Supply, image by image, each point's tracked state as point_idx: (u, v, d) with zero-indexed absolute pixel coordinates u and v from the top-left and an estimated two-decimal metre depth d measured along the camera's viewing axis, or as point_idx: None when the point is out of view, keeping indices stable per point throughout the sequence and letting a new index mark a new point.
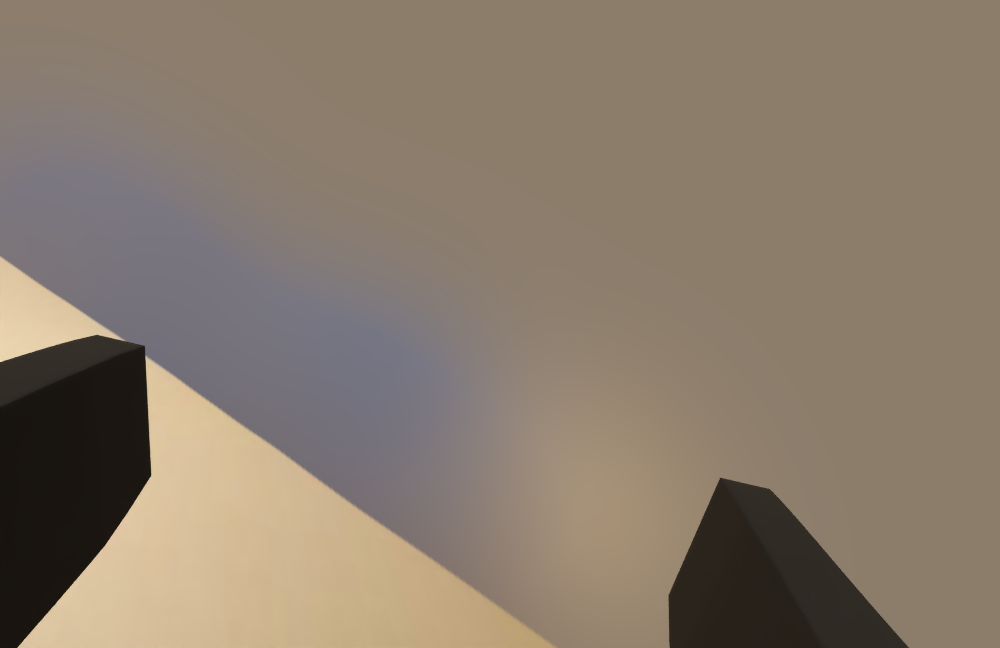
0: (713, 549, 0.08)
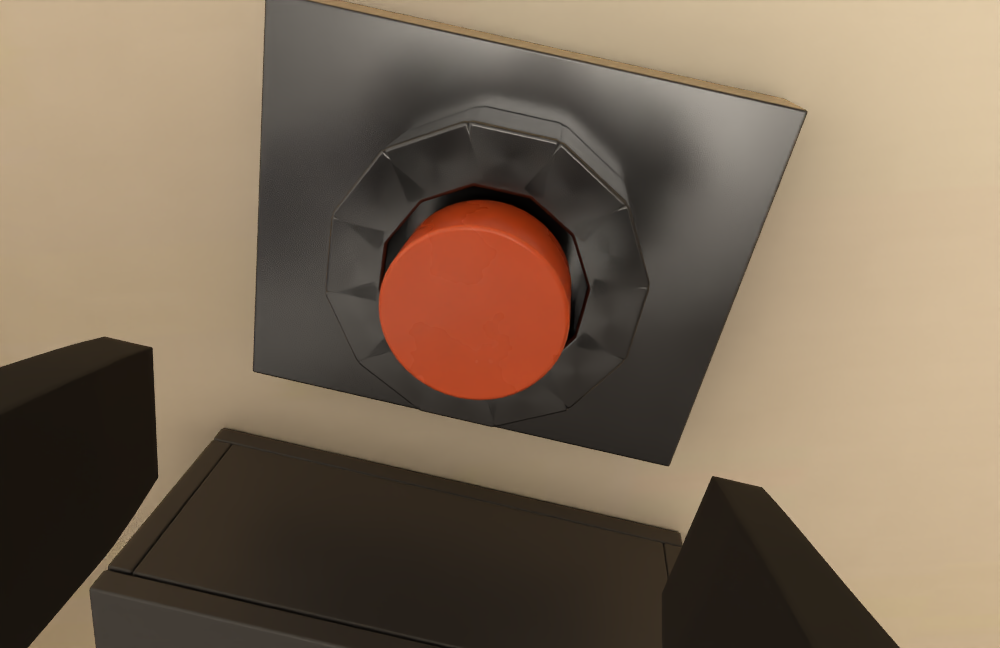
0: (705, 547, 0.08)
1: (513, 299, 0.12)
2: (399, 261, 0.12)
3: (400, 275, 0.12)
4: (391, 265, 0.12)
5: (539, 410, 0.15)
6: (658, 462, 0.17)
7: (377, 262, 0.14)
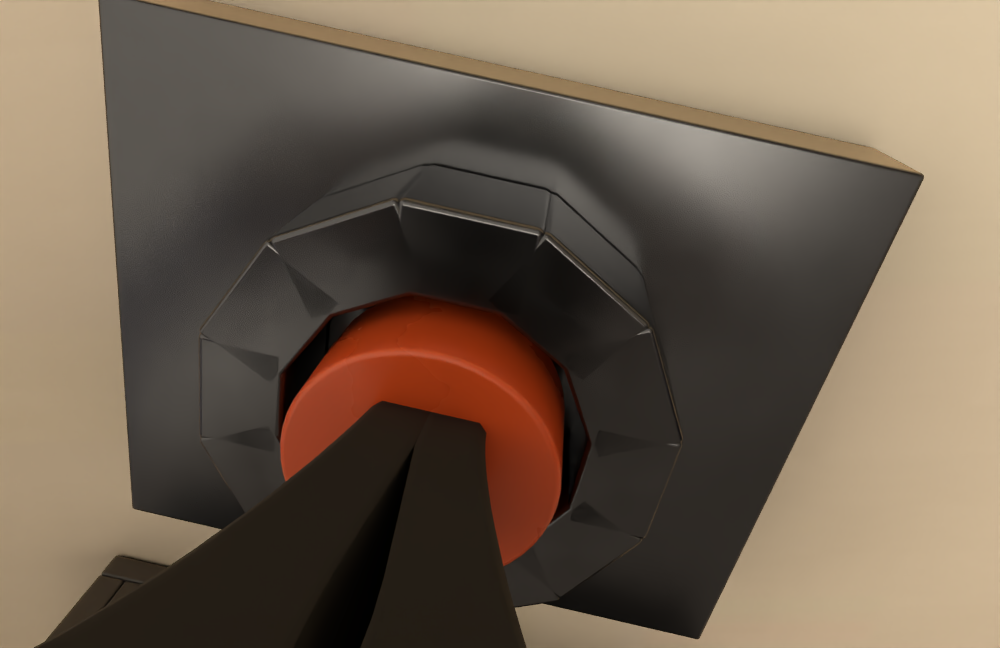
0: None
1: None
2: (305, 397, 0.08)
3: (308, 416, 0.08)
4: (294, 402, 0.08)
5: (518, 599, 0.10)
6: (684, 634, 0.13)
7: (272, 399, 0.09)
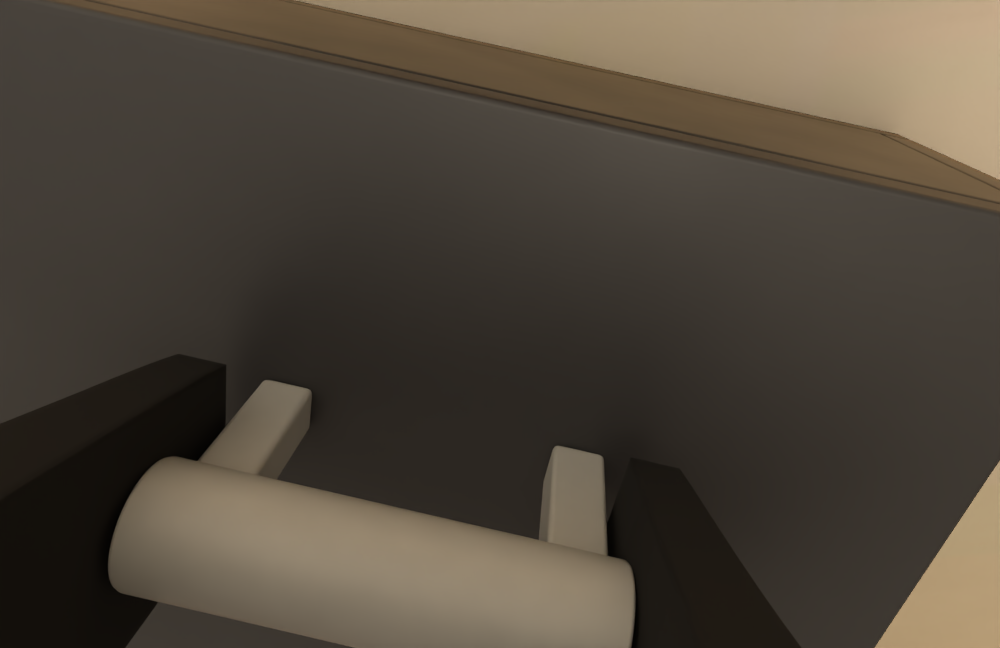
0: (620, 528, 0.08)
1: None
2: None
3: None
4: None
5: None
6: None
7: None
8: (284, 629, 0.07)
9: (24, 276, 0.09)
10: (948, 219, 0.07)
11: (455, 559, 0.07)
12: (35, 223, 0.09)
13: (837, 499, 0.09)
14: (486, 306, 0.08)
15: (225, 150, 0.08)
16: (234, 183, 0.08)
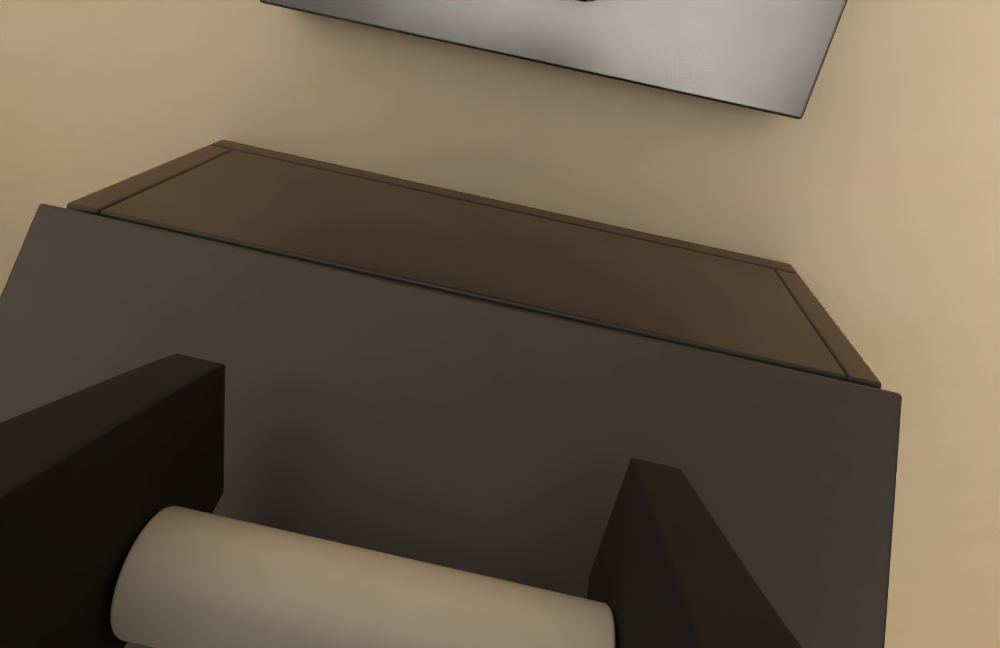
0: (621, 528, 0.08)
1: None
2: None
3: None
4: None
5: None
6: (787, 113, 0.13)
7: None
8: (279, 647, 0.07)
9: None
10: (776, 376, 0.11)
11: (450, 573, 0.07)
12: (82, 384, 0.10)
13: None
14: (457, 450, 0.10)
15: (268, 327, 0.11)
16: (268, 352, 0.10)
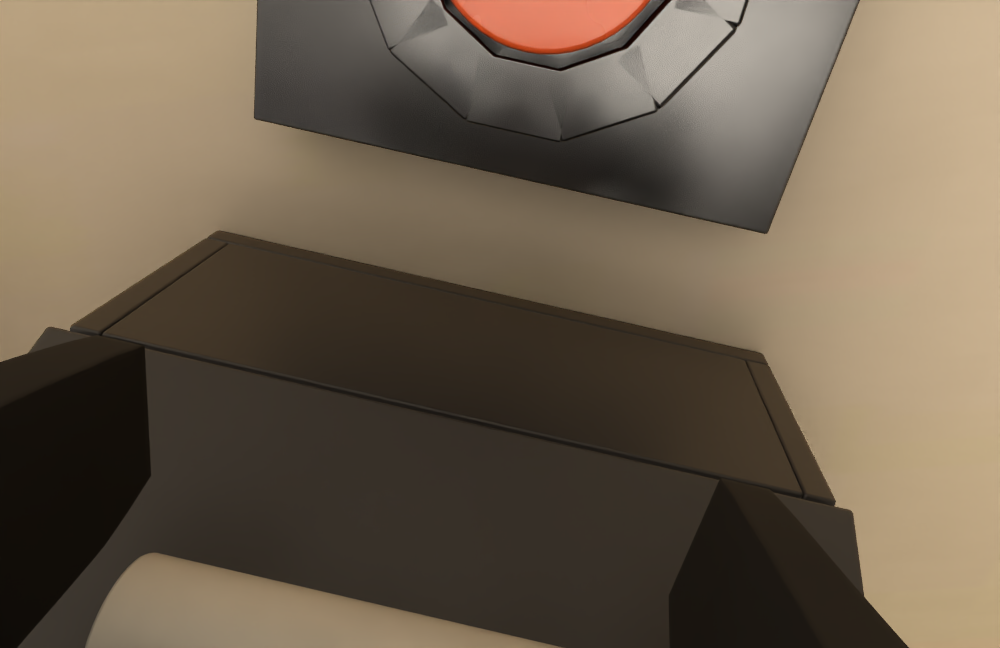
0: (713, 549, 0.08)
1: None
2: None
3: None
4: None
5: (621, 112, 0.12)
6: (753, 228, 0.14)
7: None
8: None
9: None
10: None
11: (444, 620, 0.07)
12: None
13: None
14: (436, 560, 0.10)
15: (254, 438, 0.11)
16: (251, 461, 0.11)
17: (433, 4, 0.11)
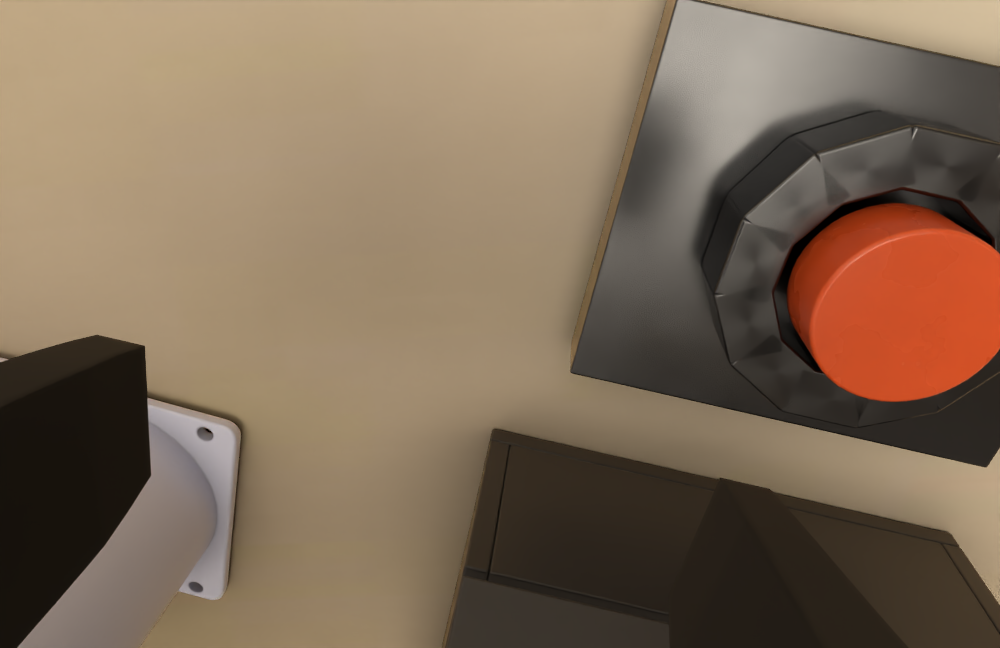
0: (713, 549, 0.08)
1: (961, 302, 0.12)
2: (852, 264, 0.12)
3: (848, 278, 0.12)
4: (840, 268, 0.12)
5: (909, 412, 0.15)
6: (976, 463, 0.17)
7: (778, 265, 0.14)
8: None
9: None
10: None
11: None
12: None
13: None
14: None
15: None
16: None
17: (773, 337, 0.15)
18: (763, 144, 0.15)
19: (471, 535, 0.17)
